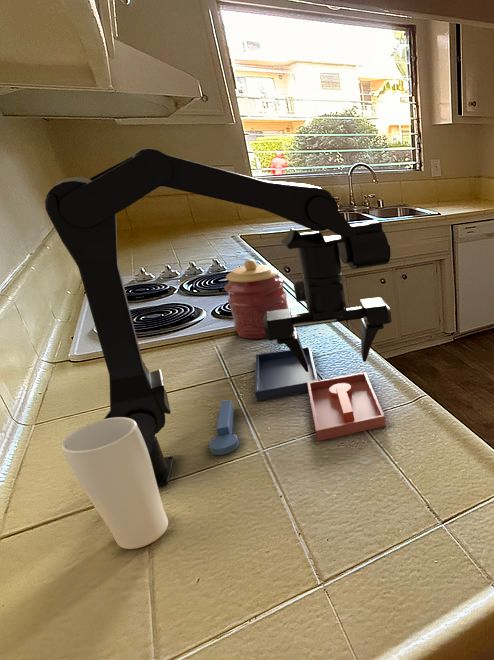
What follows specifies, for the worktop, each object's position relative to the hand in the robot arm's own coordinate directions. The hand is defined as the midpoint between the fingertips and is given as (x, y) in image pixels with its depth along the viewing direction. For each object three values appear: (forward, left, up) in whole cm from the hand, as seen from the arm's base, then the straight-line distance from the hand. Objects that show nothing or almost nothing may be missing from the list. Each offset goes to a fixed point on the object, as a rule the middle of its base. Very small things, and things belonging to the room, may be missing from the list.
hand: (336, 365), depth 77 cm
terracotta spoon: (+2, 0, -9) cm, 9 cm away
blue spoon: (+2, +18, -10) cm, 21 cm away
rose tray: (+2, -1, -10) cm, 10 cm away
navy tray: (+19, +8, -10) cm, 23 cm away
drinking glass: (-18, +26, -10) cm, 34 cm away
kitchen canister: (+47, +12, -10) cm, 49 cm away
